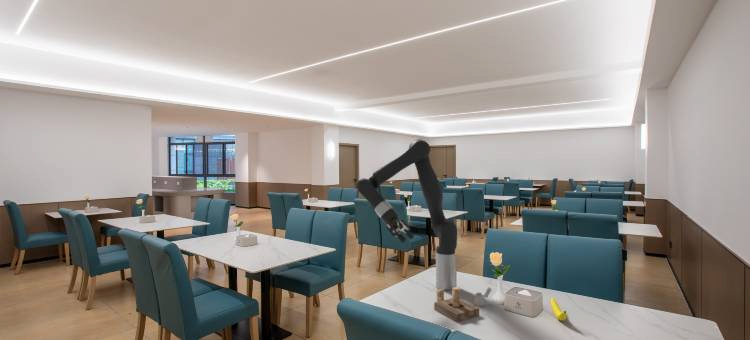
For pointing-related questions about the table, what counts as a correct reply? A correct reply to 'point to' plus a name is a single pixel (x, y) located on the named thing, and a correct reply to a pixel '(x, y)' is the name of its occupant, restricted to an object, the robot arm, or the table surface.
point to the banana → (558, 310)
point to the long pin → (456, 297)
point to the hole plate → (456, 310)
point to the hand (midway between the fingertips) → (408, 239)
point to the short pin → (440, 294)
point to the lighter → (481, 297)
